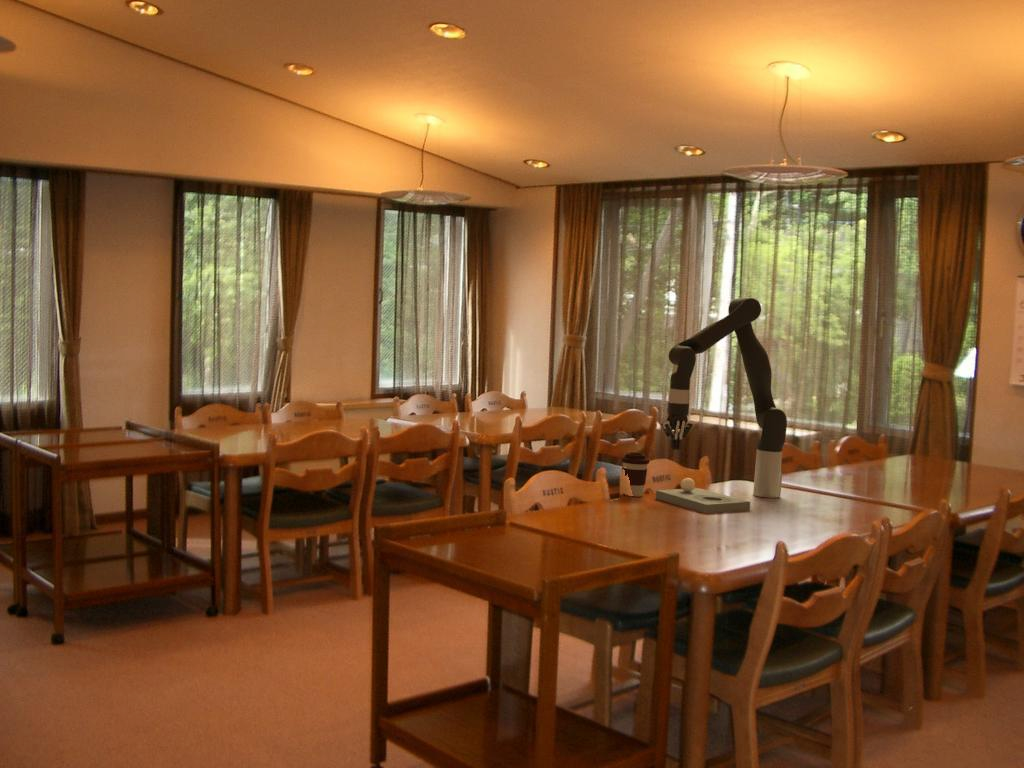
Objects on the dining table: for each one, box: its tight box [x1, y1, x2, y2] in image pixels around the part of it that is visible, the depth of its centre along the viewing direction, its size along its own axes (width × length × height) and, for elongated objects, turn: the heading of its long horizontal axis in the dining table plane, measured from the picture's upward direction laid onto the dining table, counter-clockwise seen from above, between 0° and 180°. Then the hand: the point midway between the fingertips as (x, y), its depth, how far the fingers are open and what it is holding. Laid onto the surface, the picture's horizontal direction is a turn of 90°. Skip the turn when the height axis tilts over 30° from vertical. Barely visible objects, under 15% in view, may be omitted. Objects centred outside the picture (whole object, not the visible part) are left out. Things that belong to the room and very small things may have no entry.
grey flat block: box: [655, 487, 751, 514], centre depth 363 cm, size 20×26×3 cm
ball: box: [680, 477, 696, 492], centre depth 369 cm, size 5×5×5 cm
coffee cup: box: [620, 452, 650, 498], centre depth 373 cm, size 10×10×15 cm
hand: (675, 449), depth 375 cm, fingers closed
